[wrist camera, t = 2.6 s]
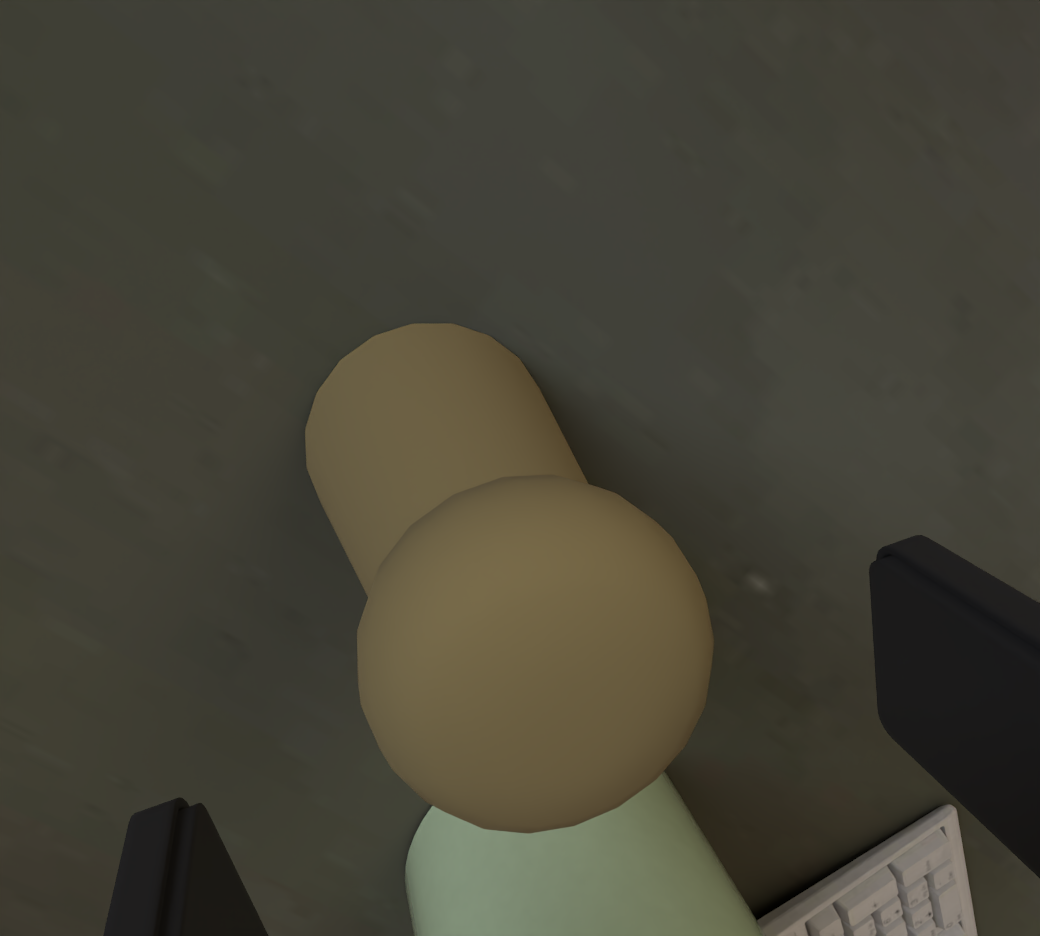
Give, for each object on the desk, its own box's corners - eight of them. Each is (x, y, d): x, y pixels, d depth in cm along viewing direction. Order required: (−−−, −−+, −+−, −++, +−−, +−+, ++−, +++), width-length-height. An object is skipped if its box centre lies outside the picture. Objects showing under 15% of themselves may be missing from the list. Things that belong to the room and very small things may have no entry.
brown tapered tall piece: (248, 451, 20) (223, 771, 10) (434, 267, 19) (602, 407, 9) (428, 597, 22) (551, 966, 12) (594, 437, 22) (858, 687, 12)
